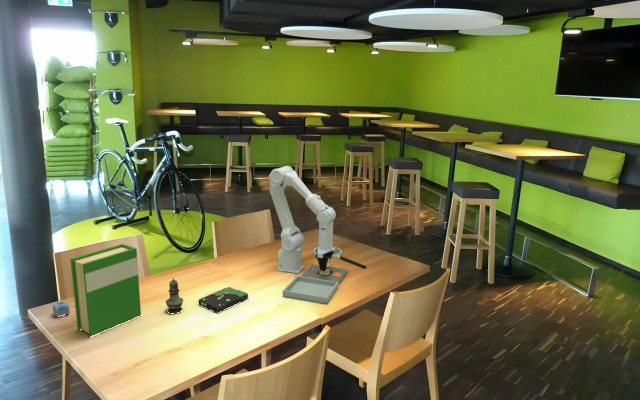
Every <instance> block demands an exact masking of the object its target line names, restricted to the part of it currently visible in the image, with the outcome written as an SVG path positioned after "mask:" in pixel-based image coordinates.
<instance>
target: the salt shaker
mask: <svg viewBox="0 0 640 400" xmlns="http://www.w3.org/2000/svg"><path fill="white" fill-rule="evenodd" d="M179 292H180V289H179V282H178V281H177V280H176V279H175V278H174V277H173V278H172V280H170V281H169V289H168V293H169V298H168V299H166V300H165V304H166V306H167V308H168V309H167V310H168V312H169V313H177V312H180V311H181V310H182V308H183V307H182V305H183V302H184V299H183V297H180V295H179ZM168 312H167V313H168ZM169 313H168V314H169ZM180 313H181V312H180Z"/></svg>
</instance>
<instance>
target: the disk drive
mask: <svg viewBox="0 0 640 400" xmlns="http://www.w3.org/2000/svg"><path fill="white" fill-rule="evenodd" d="M246 299H247V300H249V293H248V292H245V291H243V290H240V289H236V288H234V287H231V286H229V287H225V288H221V289H220V290H217V291H215V292H213V293H211V294H209V295H206V296H203V297H200V298H199V299H198V306H200V305H202V306H204V307H206V308H208V309H207V310H209V309H211V310H213V311H215V312H214V313H216V312H220V311H222V310H224V309H226V308H228V307H230V306H233V305H235V304H237V303H239V302H241V303H243V302H245V301H247V300H246ZM244 300H245V301H244ZM242 301H243V302H242ZM239 304H240V303H239ZM237 305H238V304H237ZM202 306H201V307H202ZM235 306H236V305H235ZM204 307H203V308H204ZM233 307H234V306H233ZM206 308H205V309H206ZM230 308H231V307H230ZM228 309H229V308H228ZM211 310H210V311H211ZM226 310H227V309H226ZM213 311H212V312H213ZM224 311H225V310H224ZM222 312H223V311H222ZM220 313H221V312H220Z"/></svg>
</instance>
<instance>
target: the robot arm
mask: <svg viewBox="0 0 640 400" xmlns="http://www.w3.org/2000/svg"><path fill="white" fill-rule="evenodd" d="M268 179H269V192H270V195H271V198H272V202H273V205H274V208H275V211H276V213H277V216H278V219H279V224H280V226H281V228H282V230H281V234H280V238H281V239H280V240H281V242H280V243H281V248H280V249H279V250H278V255H277V271H278V272H279V271H280V272H286V273H287V272H288V273H291V274H292V273H293V274H299V273H300V272H301V271H302V270H303V269H304V268H305V265H302V245H303V244H304V242H305V236H304V235H303V233H302V232H301V230H300V228H299V227H298V226H296V225H295V222H294V219H293V215H292V212H291V210H290V206H289V203H288V200H287V197H286V195H285V188H286V186H289V187H292V188H293V189H295V191H296V192H298V193H299V194H300V195H301V196H302V197H303V198H304V199H305V205H306V206H307V207H308V208H309V209H310V210H311V211H312V212H313V214H314V215H315V216H316V220H317V222H318V246H317V247H318V253H317V254H316V256H315V258H316V259H317V262H318V265H319V267H320V271H326V267H327V262H328V259H329V258H330V262H331V261H332V258H331V257H332V255H333V253H334V251H335V248H333V247H334V246H333V245H334V244H333V241H334V237H333V236H334V220H335V219H336V217H337V216H336V215H337V213H336V211H335V210H334V208H333V207H332V206H329V205H328V204H326V203H325V201H323V200H322V198H321V197H322V196H320V195H318V194H317V193H312V192H311V191H310V190H309V189H308V187H307V186H306V185H305V183H304V182H303V181H302V179H301V178H300V177H299V176H298V174H297V171H295V170H294V169H293V167H291V166H290V165H284V166H282V167H278V168H274V169H272V170H271V172H270V173H269V175H268Z"/></svg>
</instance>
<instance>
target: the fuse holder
mask: <svg viewBox="0 0 640 400" xmlns="http://www.w3.org/2000/svg"><path fill="white" fill-rule="evenodd" d="M348 270H349V269H346V268H340V267H335V266H334V267H333V266H330V268H329V271H330V275H329V276H325V275H320V274H319V271H320V267H319V264H315V263H314V264H313V263H312V264H310V266H309V267H307V269H306V270H304V272H303V273H302V274H301V275H300V276H302V277H309V278H315V279H322V280H328V281H334V282H338V286H339V285H340V284H341V282H342V281H343V279H344V278H345V277H346V276H347V274H348Z"/></svg>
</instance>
